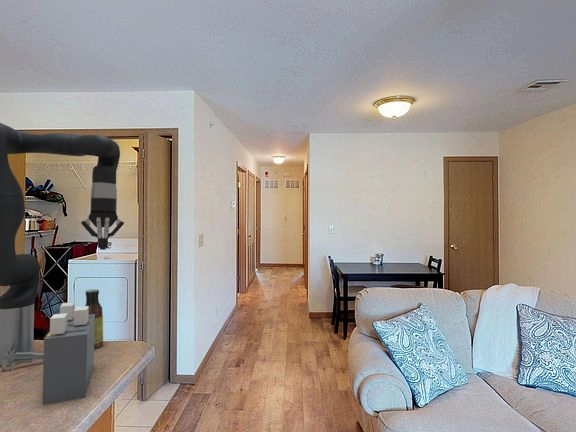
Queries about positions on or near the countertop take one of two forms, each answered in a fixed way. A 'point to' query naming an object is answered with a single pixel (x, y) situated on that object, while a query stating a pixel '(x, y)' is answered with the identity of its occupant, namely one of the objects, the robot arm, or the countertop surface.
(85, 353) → the switch box
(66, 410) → the countertop surface
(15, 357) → the caliper
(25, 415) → the countertop surface
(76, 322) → the tab middle
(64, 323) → the tab front
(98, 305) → the sauce bottle
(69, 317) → the tab back
